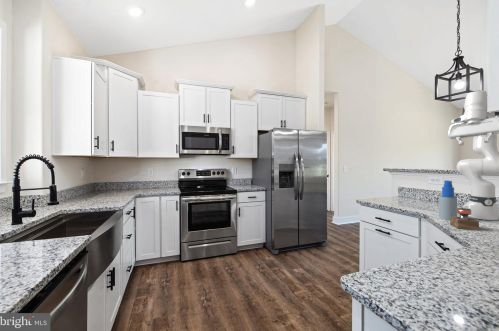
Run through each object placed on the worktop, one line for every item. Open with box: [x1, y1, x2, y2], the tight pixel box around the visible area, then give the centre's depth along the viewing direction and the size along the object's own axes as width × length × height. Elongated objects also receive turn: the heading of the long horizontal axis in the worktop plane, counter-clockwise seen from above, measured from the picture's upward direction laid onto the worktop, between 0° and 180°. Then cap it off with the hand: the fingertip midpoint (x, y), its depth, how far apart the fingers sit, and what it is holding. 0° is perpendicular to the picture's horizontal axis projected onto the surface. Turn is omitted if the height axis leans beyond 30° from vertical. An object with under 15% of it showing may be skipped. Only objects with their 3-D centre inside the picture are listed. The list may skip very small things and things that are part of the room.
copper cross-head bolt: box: [457, 207, 471, 220], centre depth 129 cm, size 6×6×11 cm
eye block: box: [449, 216, 480, 231], centre depth 129 cm, size 9×9×5 cm
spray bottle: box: [438, 179, 458, 221], centre depth 147 cm, size 9×9×25 cm
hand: (473, 143), depth 113 cm, fingers open, 8 cm apart
